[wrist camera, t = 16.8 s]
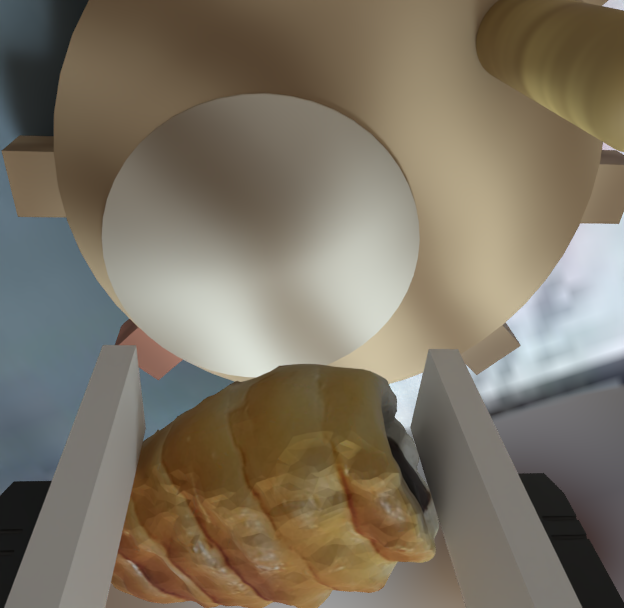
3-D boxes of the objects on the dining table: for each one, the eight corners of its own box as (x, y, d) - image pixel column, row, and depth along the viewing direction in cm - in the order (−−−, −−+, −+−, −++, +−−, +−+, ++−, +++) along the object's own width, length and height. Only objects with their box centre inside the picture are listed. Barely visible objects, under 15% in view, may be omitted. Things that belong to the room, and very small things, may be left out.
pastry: (174, 573, 19) (156, 703, 16) (38, 446, 15) (-22, 580, 12) (442, 476, 17) (483, 599, 14) (357, 311, 14) (386, 424, 11)
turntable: (310, 456, 29) (330, 640, 21) (-108, 163, 19) (-338, 310, 12) (710, 180, 22) (942, 305, 15) (378, -478, 13) (559, -1076, 5)
